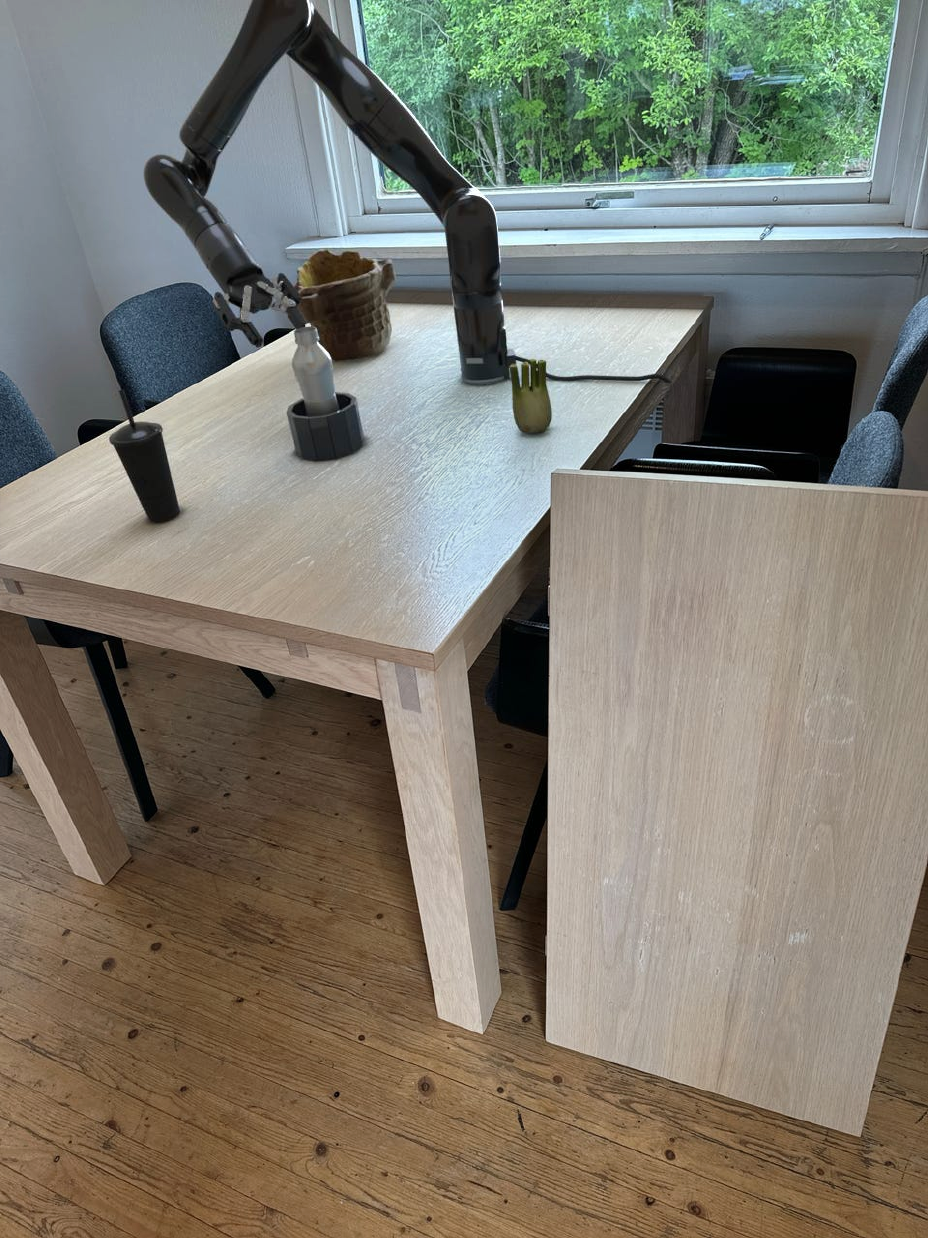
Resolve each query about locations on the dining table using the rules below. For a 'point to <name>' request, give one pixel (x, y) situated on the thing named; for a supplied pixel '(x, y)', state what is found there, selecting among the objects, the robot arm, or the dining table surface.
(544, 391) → the fennel bulb
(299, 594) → the dining table surface
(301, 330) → the silver water bottle
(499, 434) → the dining table surface
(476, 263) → the robot arm
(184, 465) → the dining table surface
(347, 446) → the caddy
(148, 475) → the drinking cup
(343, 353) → the ceramic vessel
